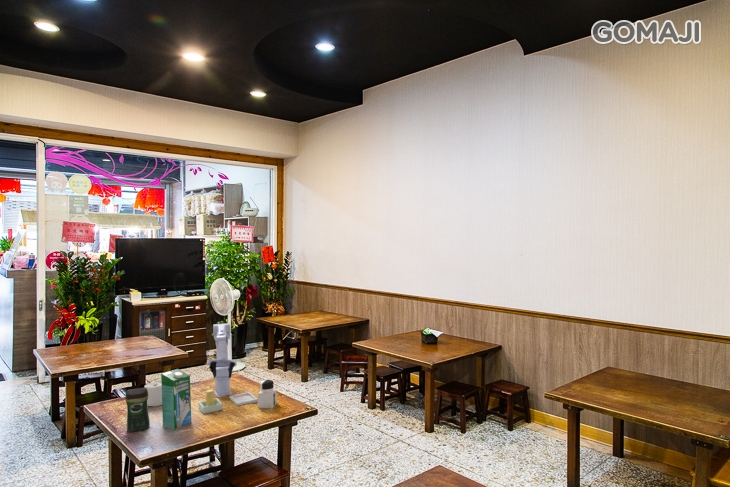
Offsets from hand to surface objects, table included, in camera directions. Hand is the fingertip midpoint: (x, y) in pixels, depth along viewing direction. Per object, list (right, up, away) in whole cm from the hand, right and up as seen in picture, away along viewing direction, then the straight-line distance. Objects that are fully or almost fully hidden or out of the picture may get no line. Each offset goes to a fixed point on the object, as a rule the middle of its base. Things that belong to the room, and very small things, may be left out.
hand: (222, 376), depth 242 cm
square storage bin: (-6, -16, -2) cm, 17 cm away
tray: (+8, -16, +10) cm, 21 cm away
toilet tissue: (-39, -17, +11) cm, 44 cm away
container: (+23, -16, +2) cm, 28 cm away
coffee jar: (-32, -18, -24) cm, 43 cm away
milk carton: (-15, -17, -20) cm, 31 cm away
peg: (-6, -16, -2) cm, 17 cm away
